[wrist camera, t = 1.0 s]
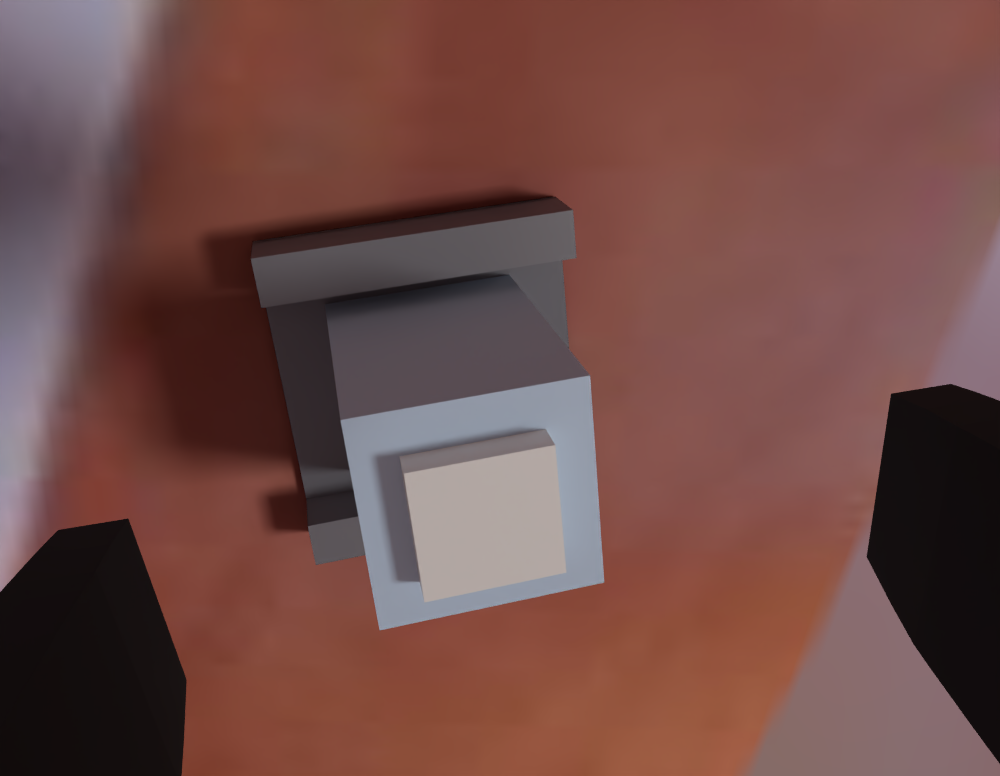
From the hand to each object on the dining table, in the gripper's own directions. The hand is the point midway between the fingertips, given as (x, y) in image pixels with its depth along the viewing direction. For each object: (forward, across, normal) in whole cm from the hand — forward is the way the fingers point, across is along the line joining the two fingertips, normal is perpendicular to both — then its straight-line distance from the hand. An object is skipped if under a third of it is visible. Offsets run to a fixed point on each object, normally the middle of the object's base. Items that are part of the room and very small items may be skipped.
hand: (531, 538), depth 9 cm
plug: (+11, 0, +4) cm, 12 cm away
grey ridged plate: (+12, 0, +5) cm, 12 cm away
